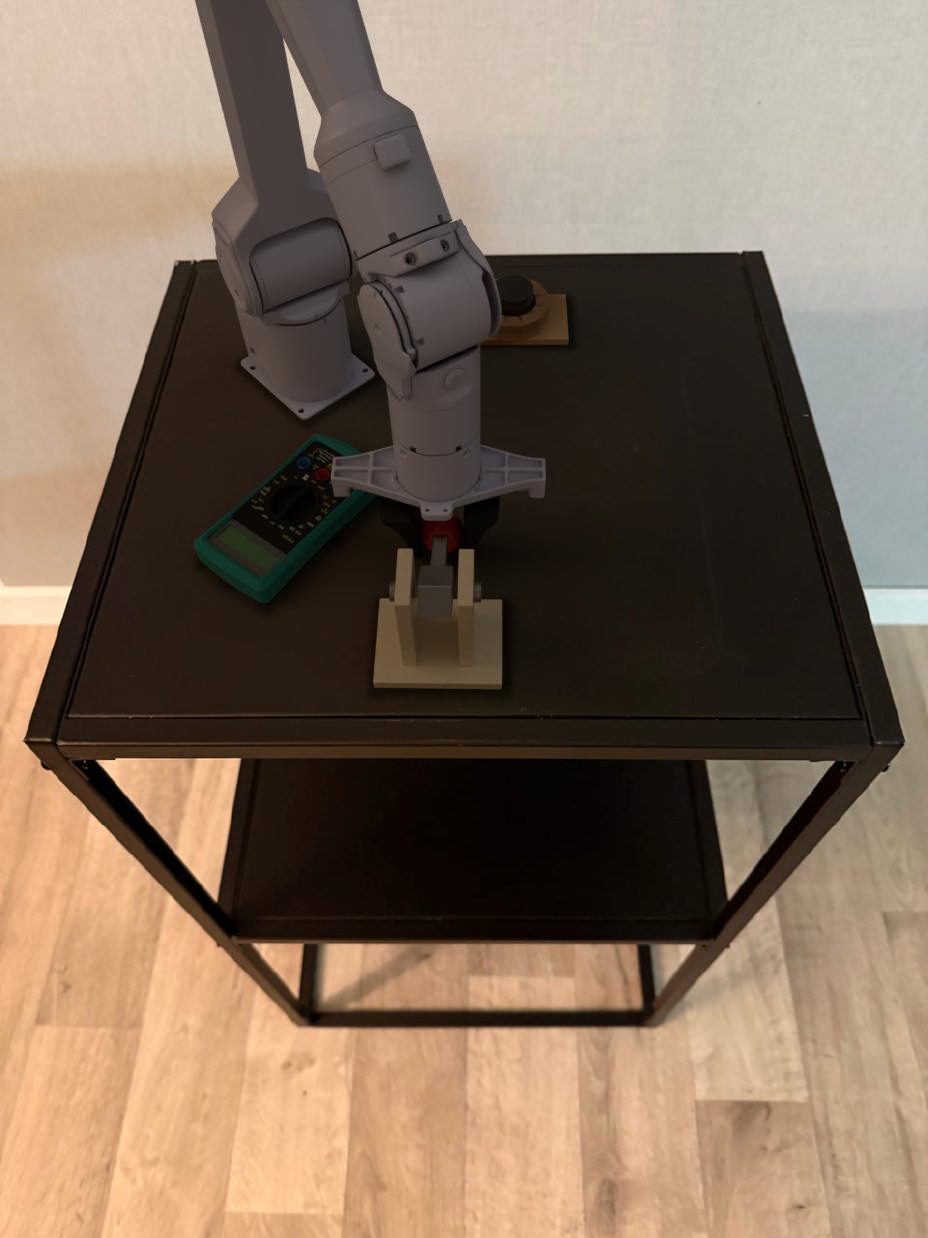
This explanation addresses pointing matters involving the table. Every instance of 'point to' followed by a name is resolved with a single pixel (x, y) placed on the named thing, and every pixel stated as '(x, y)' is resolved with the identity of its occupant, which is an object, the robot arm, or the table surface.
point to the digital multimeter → (282, 522)
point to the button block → (535, 322)
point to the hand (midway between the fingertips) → (443, 548)
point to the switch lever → (438, 568)
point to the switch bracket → (438, 635)
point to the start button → (515, 295)
